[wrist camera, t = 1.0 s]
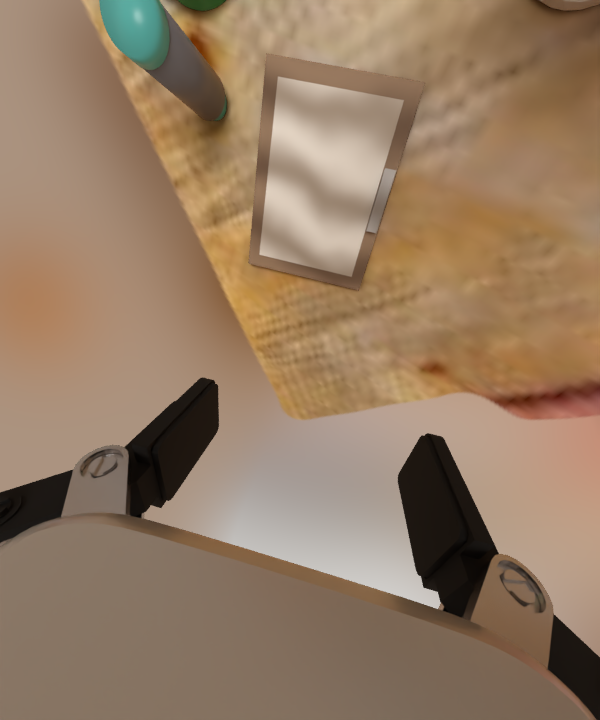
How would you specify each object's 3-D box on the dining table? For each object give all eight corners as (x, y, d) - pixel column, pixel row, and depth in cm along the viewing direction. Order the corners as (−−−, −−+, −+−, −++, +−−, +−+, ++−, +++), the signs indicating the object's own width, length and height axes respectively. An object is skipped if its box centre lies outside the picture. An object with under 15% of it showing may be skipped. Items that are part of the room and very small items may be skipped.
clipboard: (269, 60, 24) (263, 46, 22) (422, 88, 23) (428, 76, 21) (251, 262, 34) (245, 264, 32) (358, 289, 33) (359, 291, 31)
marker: (197, 73, 26) (93, -43, 15) (232, 80, 25) (151, -33, 15) (198, 123, 28) (106, 51, 17) (230, 130, 27) (157, 61, 17)
